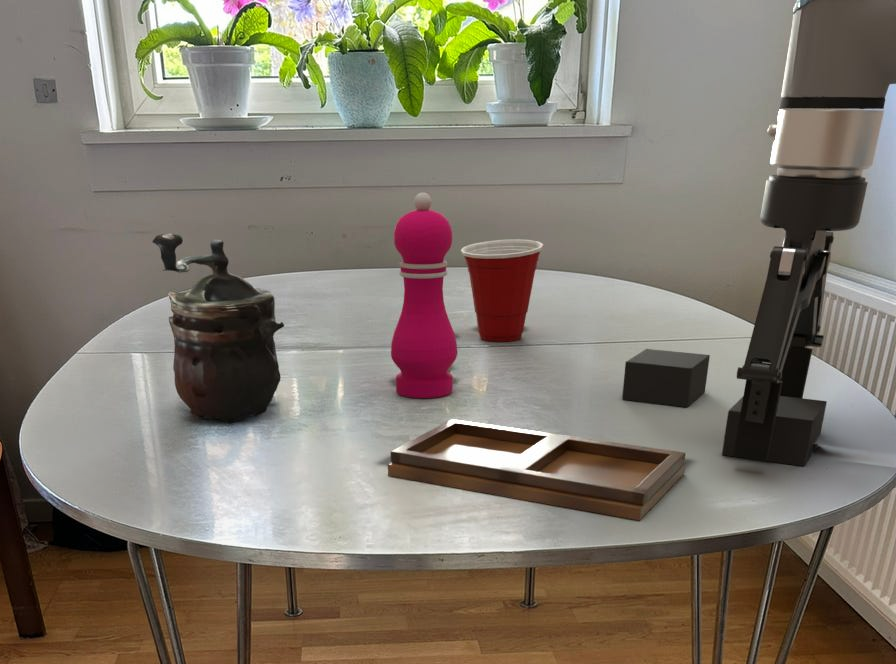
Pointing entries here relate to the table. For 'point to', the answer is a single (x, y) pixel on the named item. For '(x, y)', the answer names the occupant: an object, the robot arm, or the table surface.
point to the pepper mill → (423, 305)
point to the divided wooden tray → (541, 467)
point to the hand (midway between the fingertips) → (767, 436)
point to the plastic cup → (501, 285)
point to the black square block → (785, 430)
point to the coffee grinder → (221, 338)
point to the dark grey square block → (665, 377)
